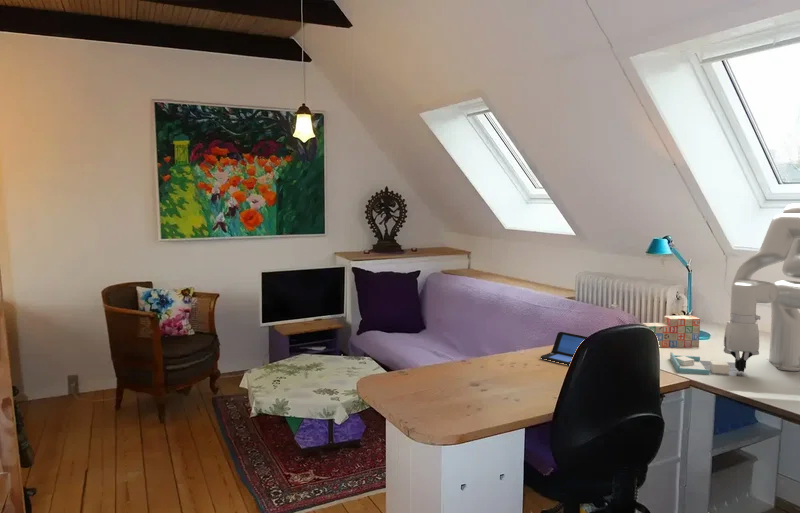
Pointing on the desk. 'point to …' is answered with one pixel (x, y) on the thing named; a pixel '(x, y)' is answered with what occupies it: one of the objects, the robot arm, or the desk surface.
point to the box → (687, 370)
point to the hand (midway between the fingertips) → (740, 370)
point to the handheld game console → (564, 347)
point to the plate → (732, 372)
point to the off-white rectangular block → (719, 367)
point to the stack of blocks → (677, 331)
